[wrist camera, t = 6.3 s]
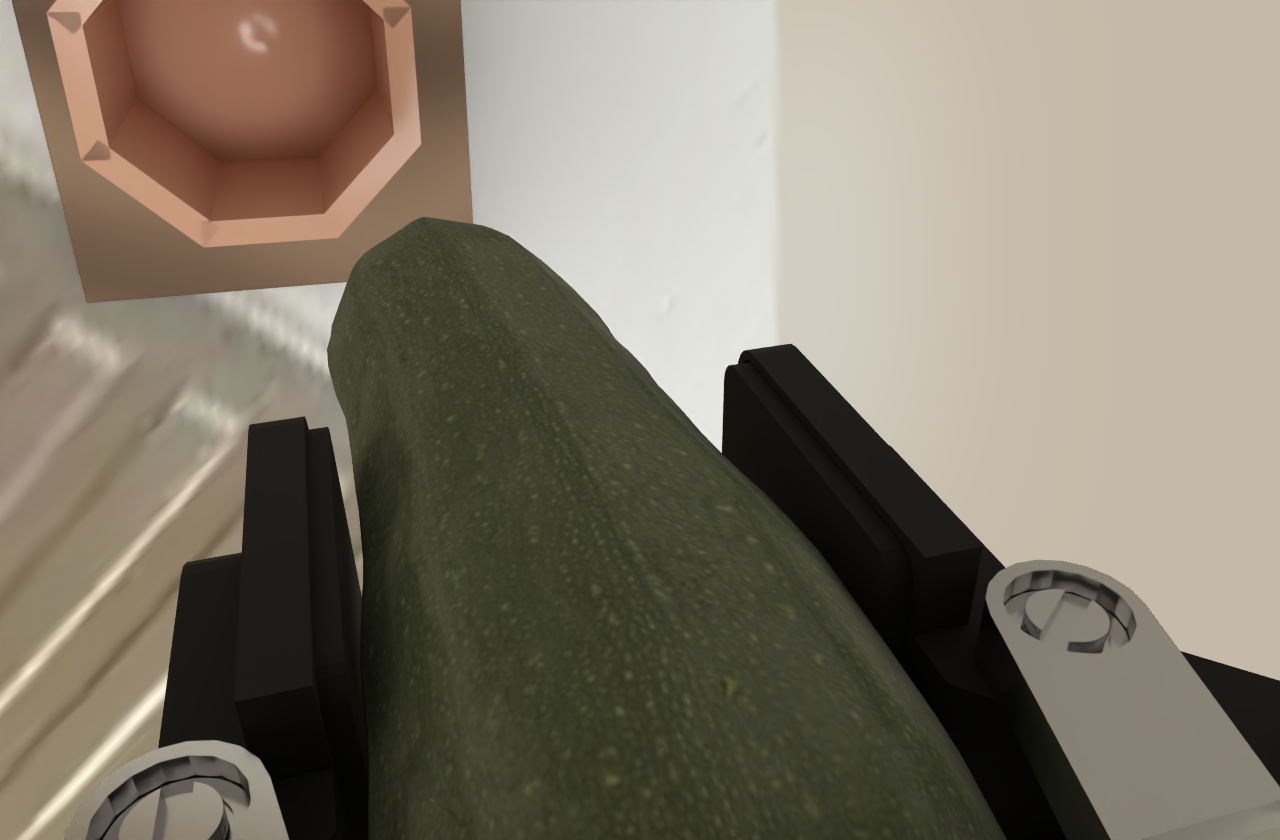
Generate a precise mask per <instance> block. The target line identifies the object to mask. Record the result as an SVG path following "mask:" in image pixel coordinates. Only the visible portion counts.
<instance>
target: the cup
mask: <svg viewBox="0 0 1280 840" xmlns="http://www.w3.org/2000/svg"><path fill="white" fill-rule="evenodd" d="M46 13H47V17H48V22H49V26H50V30H51V34H52V39H53V43H54V47H55V51H56V56H57V60H58V64H59V68H60V73H61V77H62V81H63V86H64V90H65V94H66V98H67V103H68V107H69V111H70V115H71V120H72V124H73V128H74V132H75V137H76V141H77V145H78V149H79V154H80V158H81V161H82V162H84V163H85V164H86V165H88V166H89V167H91V168H92V169H93V170H95V171H96V172H98V173H99V174H100V175H102V176H103V177H105V178H106V179H108V180H109V181H110V182H112V183H113V184H115V185H116V186H117V187H119V188H120V189H122V190H123V191H125V192H126V193H127V194H129V195H130V196H132V197H133V198H134V199H136V200H137V201H139V202H140V203H141V204H143V205H144V206H146V207H147V208H149V209H150V210H151V211H153V212H154V213H156V214H157V215H158V216H160V217H161V218H163V219H164V220H166V221H167V222H168V223H170V224H171V225H173V226H174V227H175V228H177V229H178V230H180V231H181V232H182V233H184V234H185V235H187V236H188V237H190V238H191V239H192V240H194V241H195V242H197V243H198V244H199V245H201V246H202V247H217V246H232V245H246V244H260V243H274V242H288V241H302V240H317V239H331V238H338V237H339V236H340V235H341V234H342V233H343V232H344V231H345V230H346V228H347V227H348V226H349V225H350V224H351V223H352V222H353V221H354V219H355V218H356V217H357V216H358V215H359V214H360V213H361V212H362V210H363V209H364V208H365V207H366V206H367V205H368V204H369V203H370V201H371V200H372V199H373V198H374V197H375V196H376V195H377V194H378V192H379V191H380V190H381V189H382V188H383V187H384V186H385V185H386V183H387V182H388V181H389V180H390V179H391V178H392V177H393V176H394V174H395V173H396V172H397V171H398V170H399V169H400V168H401V167H402V165H403V164H404V163H405V162H406V161H407V160H408V159H409V158H410V156H411V155H412V154H413V153H414V152H415V151H416V150H417V149H418V147H419V146H420V145H421V132H420V119H419V106H418V93H417V80H416V67H415V54H414V41H413V28H412V15H411V6H410V5H409V4H408V2H407V1H406V0H56V2H55V3H54V4H53V5H52V7H51V8H50V9H49V10H48V12H46Z"/></svg>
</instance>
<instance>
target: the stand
mask: <svg viewBox="0 0 1280 840" xmlns="http://www.w3.org/2000/svg"><path fill="white" fill-rule="evenodd" d="M406 1H407V2H408V4H409V5H410V6H411V15H412V28H413V41H414V54H415V67H416V80H417V93H418V106H419V119H420V132H421V145H420V146H419V147H418V149H417V150H416V151H415V152H414V153H413V154H412V155H411V156H410V158H409V159H408V160H407V161H406V162H405V163H404V164H403V165H402V167H401V168H400V169H399V170H398V171H397V172H396V173H395V174H394V176H393V177H392V178H391V179H390V180H389V181H388V182H387V183H386V185H385V186H384V187H383V188H382V189H381V190H380V191H379V192H378V194H377V195H376V196H375V197H374V198H373V199H372V200H371V201H370V203H369V204H368V205H367V206H366V207H365V208H364V209H363V210H362V212H361V213H360V214H359V215H358V216H357V217H356V218H355V219H354V221H353V222H352V223H351V224H350V225H349V226H348V227H347V228H346V230H345V231H344V232H343V233H342V234H341V235H340V236H339V237H338V238H331V239H317V240H302V241H288V242H274V243H260V244H246V245H232V246H217V247H202V246H201V245H199V244H198V243H197V242H195V241H194V240H192V239H191V238H190V237H188V236H187V235H185V234H184V233H182V232H181V231H180V230H178V229H177V228H175V227H174V226H173V225H171V224H170V223H168V222H167V221H166V220H164V219H163V218H161V217H160V216H158V215H157V214H156V213H154V212H153V211H151V210H150V209H149V208H147V207H146V206H144V205H143V204H141V203H140V202H139V201H137V200H136V199H134V198H133V197H132V196H130V195H129V194H127V193H126V192H125V191H123V190H122V189H120V188H119V187H117V186H116V185H115V184H113V183H112V182H110V181H109V180H108V179H106V178H105V177H103V176H102V175H100V174H99V173H98V172H96V171H95V170H93V169H92V168H91V167H89V166H88V165H86V164H85V163H84V162H82V161H81V158H80V154H79V149H78V145H77V141H76V137H75V132H74V128H73V124H72V120H71V115H70V111H69V107H68V103H67V98H66V94H65V90H64V86H63V81H62V77H61V73H60V68H59V64H58V60H57V56H56V51H55V47H54V43H53V39H52V34H51V30H50V26H49V22H48V17H47V13H46V12H48V10H49V9H50V8H51V7H52V5H53V4H54V3H55V2H56V0H12V4H13V8H14V12H15V16H16V20H17V24H18V28H19V32H20V36H21V40H22V44H23V48H24V52H25V56H26V60H27V65H28V69H29V73H30V77H31V81H32V85H33V89H34V93H35V97H36V101H37V105H38V109H39V113H40V117H41V121H42V125H43V129H44V133H45V137H46V141H47V145H48V149H49V153H50V157H51V161H52V165H53V169H54V173H55V177H56V181H57V185H58V189H59V193H60V197H61V202H62V206H63V210H64V214H65V218H66V222H67V226H68V230H69V234H70V238H71V242H72V246H73V250H74V254H75V258H76V262H77V266H78V270H79V274H80V278H81V282H82V286H83V290H84V294H85V298H86V302H87V303H94V302H106V301H118V300H130V299H143V298H155V297H167V296H180V295H192V294H204V293H216V292H229V291H241V290H253V289H265V288H278V287H290V286H302V285H315V284H327V283H339V282H348V279H349V276H350V274H351V271H352V269H353V267H354V266H355V264H356V263H357V261H358V260H359V259H360V258H361V257H362V256H363V254H364V253H365V252H367V251H368V250H370V249H371V248H373V247H374V246H376V245H377V244H379V243H380V242H382V241H384V240H385V239H387V238H388V237H390V236H391V235H393V234H394V233H396V232H397V231H399V230H400V229H402V228H403V227H405V226H406V225H408V224H409V223H411V222H412V221H414V220H416V219H418V218H421V217H430V218H437V219H443V220H450V221H456V222H462V223H469V224H473V217H472V199H471V181H470V163H469V145H468V127H467V109H466V91H465V73H464V55H463V37H462V19H461V0H406Z"/></svg>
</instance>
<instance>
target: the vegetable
mask: <svg viewBox="0 0 1280 840" xmlns="http://www.w3.org/2000/svg"><path fill="white" fill-rule="evenodd" d="M327 354H328V367H329V371H330V374H331V378H332V382H333V386H334V389H335V393H336V396H337V399H338V401H339V404H340V406H341V408H342V411H343V413H344V415H345V418H346V423H347V428H348V434H349V441H350V448H351V455H352V464H353V472H354V481H355V489H356V496H357V502H358V509H359V518H360V529H361V540H362V552H363V590H362V602H361V629H360V669H361V680H362V691H363V702H364V713H365V724H366V735H367V746H368V757H369V795H368V840H1007V839H1006V837H1005V835H1004V833H1003V832H1002V830H1001V828H1000V826H999V824H998V822H997V821H996V819H995V817H994V815H993V813H992V811H991V809H990V808H989V806H988V804H987V802H986V800H985V798H984V797H983V795H982V793H981V791H980V789H979V787H978V785H977V784H976V782H975V780H974V778H973V776H972V774H971V773H970V771H969V769H968V767H967V765H966V763H965V761H964V760H963V758H962V756H961V754H960V753H959V751H958V749H957V748H956V746H955V745H954V743H953V742H952V740H951V738H950V737H949V735H948V734H947V732H946V731H945V729H944V727H943V726H942V724H941V723H940V721H939V720H938V718H937V716H936V715H935V713H934V712H933V711H932V709H931V708H930V706H929V705H928V703H927V702H926V700H925V699H924V698H923V696H922V695H921V693H920V692H919V690H918V689H917V688H916V686H915V685H914V683H913V682H912V680H911V679H910V678H909V676H908V675H907V673H906V672H905V670H904V669H903V667H902V666H901V665H900V663H899V662H898V660H897V659H896V657H895V656H894V655H893V653H892V652H891V650H890V649H889V647H888V646H887V645H886V643H885V642H884V640H883V639H882V638H881V636H880V635H879V633H878V632H877V631H876V629H875V628H874V626H873V625H872V623H871V622H870V621H869V619H868V618H867V616H866V615H865V614H864V612H863V611H862V609H861V608H860V607H859V605H858V604H857V602H856V601H855V600H854V598H853V597H852V595H851V594H850V593H849V591H848V590H847V588H846V587H845V586H844V584H843V583H842V581H841V580H840V579H839V577H838V576H837V575H836V573H835V572H834V571H833V569H832V568H831V566H830V565H829V564H828V562H827V561H826V560H825V558H824V557H823V556H822V554H821V553H820V552H819V550H818V549H817V548H816V547H815V546H814V545H813V544H812V543H811V541H810V540H809V539H808V538H807V537H806V536H805V535H804V534H803V533H802V531H801V530H800V529H799V528H798V527H797V526H796V525H795V524H794V523H793V522H792V520H791V519H790V518H789V517H788V516H787V515H786V514H785V513H784V512H783V511H782V510H781V509H780V508H779V507H778V506H777V505H776V504H775V503H774V502H773V501H772V500H771V499H770V498H769V497H768V496H767V495H766V494H765V493H764V492H763V491H762V490H761V489H759V488H758V487H757V486H756V485H755V484H754V483H753V482H751V481H750V480H749V479H748V478H747V477H746V476H745V475H744V474H742V473H741V472H740V471H739V470H738V469H737V468H736V467H735V466H734V465H733V464H732V463H731V462H730V461H729V460H728V459H727V458H726V457H725V456H724V455H723V454H722V453H721V452H720V451H719V450H718V449H717V448H716V447H715V446H714V445H713V444H712V443H711V442H710V441H709V440H708V439H707V438H706V437H705V436H704V435H703V434H702V433H701V432H700V431H699V429H698V428H697V427H696V426H695V425H694V424H693V423H692V421H691V420H690V419H689V418H688V417H687V416H686V414H685V413H684V412H683V411H682V410H681V409H680V408H679V407H678V406H677V405H676V403H675V402H674V401H673V400H672V399H671V398H670V397H669V396H668V395H667V394H666V393H665V392H664V391H663V390H662V389H661V388H660V387H659V386H658V385H657V384H656V382H655V381H654V379H653V378H652V377H651V375H650V374H649V372H648V371H647V370H646V369H645V368H644V366H643V365H642V364H641V363H640V362H639V361H638V360H637V359H636V358H635V357H634V356H633V355H632V354H631V353H630V352H629V351H628V350H627V349H626V348H625V347H623V346H622V345H621V344H620V343H619V342H618V341H617V340H616V339H615V338H614V336H613V335H612V333H611V332H610V330H609V329H608V327H607V326H606V325H605V323H604V322H603V321H602V319H601V318H600V317H599V315H598V314H597V313H596V312H595V311H594V310H593V309H592V308H591V307H590V306H589V305H588V304H587V303H586V302H585V301H584V300H583V299H582V298H581V296H580V295H579V294H578V293H577V292H576V291H575V290H574V289H573V288H572V287H571V286H570V285H568V284H567V283H566V282H565V281H564V280H563V279H562V278H561V277H560V276H559V275H557V274H556V273H555V272H554V271H553V270H552V269H551V268H550V267H548V266H547V265H546V264H545V263H544V262H543V261H542V260H540V259H539V258H538V257H536V256H535V255H534V254H532V253H531V252H530V251H528V250H527V249H526V248H524V247H523V246H522V245H520V244H519V243H518V242H516V241H515V240H514V239H512V238H511V237H510V236H508V235H505V234H503V233H501V232H498V231H496V230H494V229H492V228H488V227H485V226H481V225H475V224H469V223H462V222H456V221H450V220H443V219H437V218H430V217H421V218H418V219H416V220H414V221H412V222H411V223H409V224H408V225H406V226H405V227H403V228H402V229H400V230H399V231H397V232H396V233H394V234H393V235H391V236H390V237H388V238H387V239H385V240H384V241H382V242H380V243H379V244H377V245H376V246H374V247H373V248H371V249H370V250H368V251H367V252H365V253H364V254H363V256H362V257H361V258H360V259H359V260H358V261H357V263H356V264H355V266H354V267H353V269H352V271H351V274H350V276H349V279H348V282H347V285H346V287H345V290H344V293H343V296H342V299H341V301H340V304H339V307H338V310H337V313H336V315H335V318H334V321H333V324H332V330H331V337H330V341H329V344H328V348H327Z"/></svg>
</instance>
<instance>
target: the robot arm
mask: <svg viewBox="0 0 1280 840" xmlns="http://www.w3.org/2000/svg"><path fill="white" fill-rule="evenodd" d="M722 454H723V455H724V456H725V457H726V458H727V459H728V460H729V461H730V462H731V463H732V464H733V465H734V466H735V467H736V468H737V469H738V470H739V471H740V472H741V473H742V474H744V475H745V476H746V477H747V478H748V479H749V480H750V481H751V482H753V483H754V484H755V485H756V486H757V487H758V488H759V489H761V490H762V491H763V492H764V493H765V494H766V495H767V496H768V497H769V498H770V499H771V500H772V501H773V502H774V503H775V504H776V505H777V506H778V507H779V508H780V509H781V510H782V511H783V512H784V513H785V514H786V515H787V516H788V517H789V518H790V519H791V520H792V522H793V523H794V524H795V525H796V526H797V527H798V528H799V529H800V530H801V531H802V533H803V534H804V535H805V536H806V537H807V538H808V539H809V540H810V541H811V543H812V544H813V545H814V546H815V547H816V548H817V549H818V550H819V552H820V553H821V554H822V556H823V557H824V558H825V560H826V561H827V562H828V564H829V565H830V566H831V568H832V569H833V571H834V572H835V573H836V575H837V576H838V577H839V579H840V580H841V581H842V583H843V584H844V586H845V587H846V588H847V590H848V591H849V593H850V594H851V595H852V597H853V598H854V600H855V601H856V602H857V604H858V605H859V607H860V608H861V609H862V611H863V612H864V614H865V615H866V616H867V618H868V619H869V621H870V622H871V623H872V625H873V626H874V628H875V629H876V631H877V632H878V633H879V635H880V636H881V638H882V639H883V640H884V642H885V643H886V645H887V646H888V647H889V649H890V650H891V652H892V653H893V655H894V656H895V657H896V659H897V660H898V662H899V663H900V665H901V666H902V667H903V669H904V670H905V672H906V673H907V675H908V676H909V678H910V679H911V680H912V682H913V683H914V685H915V686H916V688H917V689H918V690H919V692H920V693H921V695H922V696H923V698H924V699H925V700H926V702H927V703H928V705H929V706H930V708H931V709H932V711H933V712H934V713H935V715H936V716H937V718H938V720H939V721H940V723H941V724H942V726H943V727H944V729H945V731H946V732H947V734H948V735H949V737H950V738H951V740H952V742H953V743H954V745H955V746H956V748H957V749H958V751H959V753H960V754H961V756H962V758H963V760H964V761H965V763H966V765H967V767H968V769H969V771H970V773H971V774H972V776H973V778H974V780H975V782H976V784H977V785H978V787H979V789H980V791H981V793H982V795H983V797H984V798H985V800H986V802H987V804H988V806H989V808H990V809H991V811H992V813H993V815H994V817H995V819H996V821H997V822H998V824H999V826H1000V828H1001V830H1002V832H1003V833H1004V835H1005V837H1006V839H1007V840H1280V681H1279V680H1275V679H1272V678H1269V677H1265V676H1261V675H1258V674H1255V673H1252V672H1248V671H1245V670H1242V669H1238V668H1235V667H1232V666H1228V665H1225V664H1222V663H1218V662H1215V661H1212V660H1208V659H1205V658H1202V657H1198V656H1195V655H1192V654H1188V653H1185V652H1182V651H1180V650H1179V649H1178V648H1177V646H1176V645H1175V644H1174V642H1173V641H1172V640H1171V638H1170V637H1169V636H1168V634H1167V633H1166V632H1165V630H1164V629H1163V627H1162V626H1161V625H1160V624H1159V622H1158V620H1157V619H1156V618H1155V616H1154V615H1153V614H1152V612H1151V611H1150V610H1149V608H1148V607H1147V605H1146V604H1145V603H1144V602H1143V601H1142V600H1141V599H1140V598H1139V597H1138V596H1137V595H1136V594H1135V593H1134V592H1133V591H1132V590H1131V589H1129V588H1128V587H1126V586H1125V585H1123V584H1122V583H1120V582H1118V581H1117V580H1115V579H1114V578H1112V577H1111V576H1108V575H1106V574H1104V573H1101V572H1099V571H1096V570H1094V569H1091V568H1089V567H1086V566H1082V565H1077V564H1073V563H1068V562H1064V561H1052V560H1033V561H1028V562H1022V563H1016V564H1014V565H1011V566H1009V567H1008V568H1005V567H1004V566H1003V565H1002V564H1001V562H1000V561H999V560H998V559H997V558H996V557H995V556H994V555H993V554H992V553H991V552H990V551H989V550H988V549H987V548H986V547H985V546H984V544H983V543H982V542H981V541H980V540H979V539H978V538H977V537H976V536H975V535H974V534H973V533H972V532H971V531H970V530H969V529H968V527H967V526H966V525H965V524H964V523H963V522H962V521H961V520H960V519H959V518H958V517H957V516H956V515H955V514H954V513H953V512H952V511H951V509H950V508H949V507H947V505H946V504H945V503H944V502H943V501H942V500H941V499H940V498H939V497H938V496H937V495H936V494H935V492H933V490H931V488H930V487H929V486H928V485H927V484H926V483H925V482H924V481H923V480H922V479H921V478H920V477H919V476H918V474H917V473H916V472H915V471H914V470H913V469H912V468H911V467H910V466H909V465H908V464H907V463H906V462H905V461H904V460H903V459H902V458H901V457H900V455H899V454H898V453H897V452H896V451H895V450H894V449H893V448H892V447H890V446H889V445H888V444H887V443H886V442H885V441H884V440H883V439H882V438H881V437H880V436H879V435H878V434H877V433H876V432H875V431H874V429H873V428H872V427H871V426H870V425H869V424H868V423H867V422H866V421H865V420H864V419H863V418H862V417H861V416H860V415H859V413H857V411H856V410H855V409H854V408H853V407H852V406H851V405H850V404H849V403H848V402H847V401H846V400H845V399H844V398H843V397H842V396H841V394H840V393H839V392H838V391H837V390H836V389H835V388H834V387H833V386H832V385H831V384H830V383H829V382H828V381H827V380H826V378H825V377H824V376H823V375H822V374H821V373H820V372H819V371H818V370H817V369H816V368H815V367H814V366H813V365H812V364H811V362H810V361H809V360H808V359H807V358H806V357H805V356H804V355H803V354H802V353H801V352H800V351H799V350H798V349H797V348H796V347H795V346H794V345H792V344H786V345H779V346H772V347H765V348H759V349H752V350H745V351H743V352H742V353H741V355H740V358H739V361H738V364H736V365H729V366H728V367H727V368H726V371H725V377H724V403H723V436H722ZM361 602H362V596H361V591H360V585H359V580H358V575H357V570H356V565H355V560H354V555H353V549H352V544H351V539H350V534H349V529H348V524H347V518H346V513H345V508H344V503H343V498H342V493H341V487H340V482H339V477H338V472H337V467H336V462H335V456H334V451H333V446H332V441H331V436H330V432H329V428H328V427H324V428H317V429H310V430H309V429H308V425H307V421H306V418H305V417H298V418H291V419H285V420H278V421H271V422H264V423H258V424H251V425H249V430H248V449H247V467H246V485H245V504H244V522H243V541H242V553H237V554H231V555H225V556H220V557H214V558H208V559H203V560H197V561H192V562H187V563H186V564H185V565H184V566H183V570H182V574H181V579H180V587H179V595H178V602H177V610H176V618H175V625H174V633H173V640H172V648H171V656H170V663H169V671H168V678H167V686H166V694H165V701H164V709H163V717H162V724H161V732H160V739H159V747H158V749H156V750H154V751H151V752H149V753H147V754H145V755H143V756H141V757H139V758H137V759H134V760H132V761H130V762H128V763H126V764H125V765H123V766H122V767H121V768H119V769H118V770H117V771H115V772H114V773H112V774H111V775H110V776H108V777H107V778H106V779H104V780H103V781H101V782H100V783H99V784H98V785H97V786H96V787H95V789H94V790H93V791H92V792H91V793H90V794H89V795H88V796H87V797H86V798H85V800H84V801H83V802H82V803H81V804H80V805H79V806H78V808H77V810H76V812H75V814H74V816H73V818H72V819H71V821H70V823H69V825H68V827H67V829H66V831H65V835H64V840H368V795H369V757H368V746H367V735H366V724H365V713H364V702H363V691H362V680H361V669H360V629H361Z"/></svg>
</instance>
